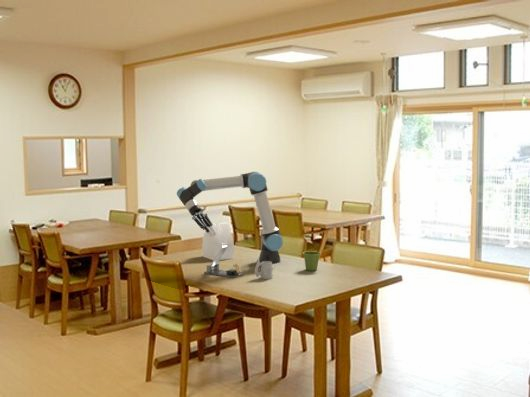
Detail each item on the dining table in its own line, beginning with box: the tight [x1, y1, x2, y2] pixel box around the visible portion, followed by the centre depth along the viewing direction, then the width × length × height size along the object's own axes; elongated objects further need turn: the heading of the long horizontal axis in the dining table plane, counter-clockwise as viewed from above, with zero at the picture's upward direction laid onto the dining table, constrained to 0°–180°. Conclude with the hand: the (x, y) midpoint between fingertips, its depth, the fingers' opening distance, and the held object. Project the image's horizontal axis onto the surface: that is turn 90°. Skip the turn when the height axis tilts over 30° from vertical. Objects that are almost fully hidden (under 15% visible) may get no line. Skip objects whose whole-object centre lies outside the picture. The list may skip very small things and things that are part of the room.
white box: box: [201, 221, 235, 261], centre depth 439 cm, size 19×15×25 cm
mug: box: [254, 259, 274, 280], centre depth 375 cm, size 8×12×12 cm, turn 116°
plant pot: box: [302, 250, 322, 272], centre depth 399 cm, size 12×12×11 cm
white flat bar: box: [210, 245, 228, 269], centre depth 388 cm, size 18×5×2 cm
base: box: [203, 263, 245, 279], centre depth 386 cm, size 24×10×7 cm, turn 57°
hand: (213, 235), depth 389 cm, fingers open, 2 cm apart
